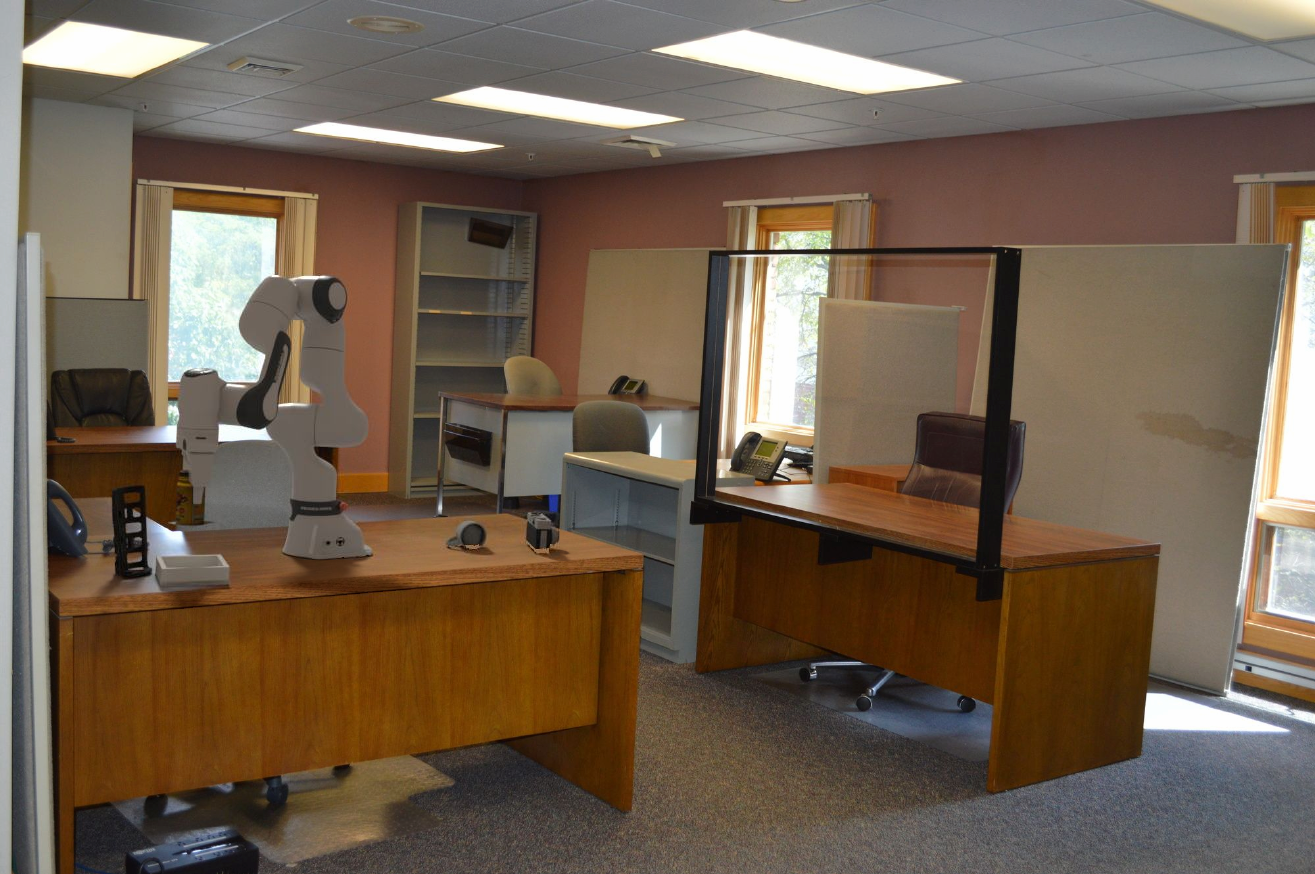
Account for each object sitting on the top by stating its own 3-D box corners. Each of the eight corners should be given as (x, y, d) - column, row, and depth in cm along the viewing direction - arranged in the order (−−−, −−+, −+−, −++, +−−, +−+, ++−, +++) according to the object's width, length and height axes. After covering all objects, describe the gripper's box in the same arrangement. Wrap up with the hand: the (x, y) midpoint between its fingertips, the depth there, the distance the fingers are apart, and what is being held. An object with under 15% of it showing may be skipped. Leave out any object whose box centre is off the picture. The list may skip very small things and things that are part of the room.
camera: (562, 554, 319) (565, 519, 318) (534, 554, 316) (536, 518, 315) (551, 544, 332) (554, 511, 331) (524, 544, 329) (526, 510, 329)
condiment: (166, 523, 254) (168, 470, 253) (196, 518, 262) (197, 467, 261) (190, 527, 251) (192, 474, 250) (219, 523, 259) (221, 471, 258)
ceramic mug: (479, 544, 324) (480, 517, 323) (486, 549, 317) (487, 522, 316) (442, 544, 320) (443, 518, 319) (448, 550, 312) (450, 523, 312)
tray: (220, 571, 267) (220, 554, 266) (228, 584, 254) (229, 566, 254) (155, 573, 260) (156, 555, 260) (161, 586, 248) (161, 568, 247)
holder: (140, 578, 252) (135, 490, 251) (105, 580, 252) (99, 491, 250) (158, 569, 263) (153, 484, 262) (124, 570, 263) (119, 485, 261)
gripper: (177, 434, 262) (175, 493, 263) (187, 445, 244) (185, 508, 245) (206, 435, 265) (204, 493, 266) (218, 445, 247) (215, 508, 249)
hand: (195, 500), depth 256 cm, fingers closed on condiment, 6 cm apart
